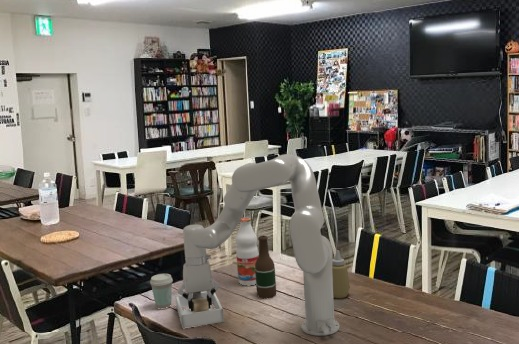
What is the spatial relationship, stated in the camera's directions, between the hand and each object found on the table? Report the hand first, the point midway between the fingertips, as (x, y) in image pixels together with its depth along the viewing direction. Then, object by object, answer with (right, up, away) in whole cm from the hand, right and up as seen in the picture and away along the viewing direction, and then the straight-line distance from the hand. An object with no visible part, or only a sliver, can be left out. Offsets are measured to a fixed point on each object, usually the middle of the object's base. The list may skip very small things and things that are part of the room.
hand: (200, 308), depth 191 cm
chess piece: (-2, -3, +10) cm, 10 cm away
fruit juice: (+17, +1, +36) cm, 40 cm away
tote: (-1, -4, +5) cm, 6 cm away
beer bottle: (+24, 0, +20) cm, 31 cm away
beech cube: (0, -2, 0) cm, 2 cm away
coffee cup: (-16, -4, +16) cm, 23 cm away
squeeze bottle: (+52, +1, +15) cm, 54 cm away
